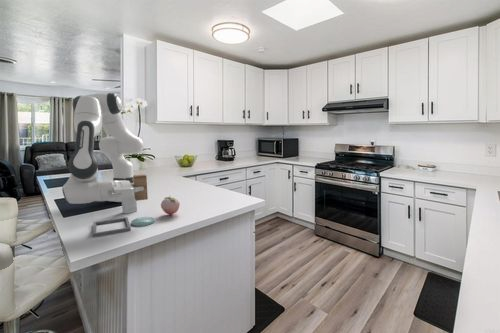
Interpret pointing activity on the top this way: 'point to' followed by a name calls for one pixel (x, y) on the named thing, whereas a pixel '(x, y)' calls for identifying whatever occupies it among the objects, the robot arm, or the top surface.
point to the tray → (111, 230)
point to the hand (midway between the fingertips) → (142, 186)
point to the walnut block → (140, 181)
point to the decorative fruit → (170, 205)
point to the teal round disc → (142, 221)
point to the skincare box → (129, 204)
